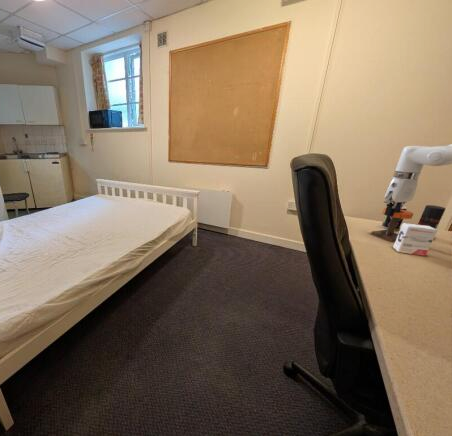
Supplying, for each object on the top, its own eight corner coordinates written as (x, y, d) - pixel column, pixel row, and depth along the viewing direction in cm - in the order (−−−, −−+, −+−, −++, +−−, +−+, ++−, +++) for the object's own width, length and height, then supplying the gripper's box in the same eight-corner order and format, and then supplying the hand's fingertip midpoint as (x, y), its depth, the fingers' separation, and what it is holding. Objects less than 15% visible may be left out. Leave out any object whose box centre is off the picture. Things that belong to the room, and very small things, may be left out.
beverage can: (379, 227, 117) (388, 206, 113) (382, 225, 121) (390, 204, 116) (397, 231, 112) (406, 209, 108) (399, 228, 116) (408, 207, 111)
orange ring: (417, 218, 99) (419, 213, 98) (401, 219, 97) (402, 215, 96) (392, 211, 108) (394, 207, 107) (377, 212, 106) (378, 208, 105)
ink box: (418, 250, 93) (430, 225, 89) (425, 256, 89) (438, 229, 85) (392, 247, 97) (402, 222, 93) (398, 252, 92) (409, 226, 88)
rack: (406, 240, 103) (415, 219, 99) (391, 241, 101) (400, 220, 98) (384, 232, 111) (392, 213, 108) (370, 234, 110) (377, 214, 106)
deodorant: (413, 232, 111) (426, 204, 106) (431, 236, 107) (445, 207, 101) (412, 236, 107) (425, 206, 102) (431, 240, 103) (445, 209, 98)
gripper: (402, 177, 90) (386, 219, 97) (431, 176, 93) (414, 216, 100) (381, 175, 97) (368, 214, 103) (409, 173, 100) (394, 211, 107)
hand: (391, 215), depth 101 cm, fingers closed on orange ring, 2 cm apart
